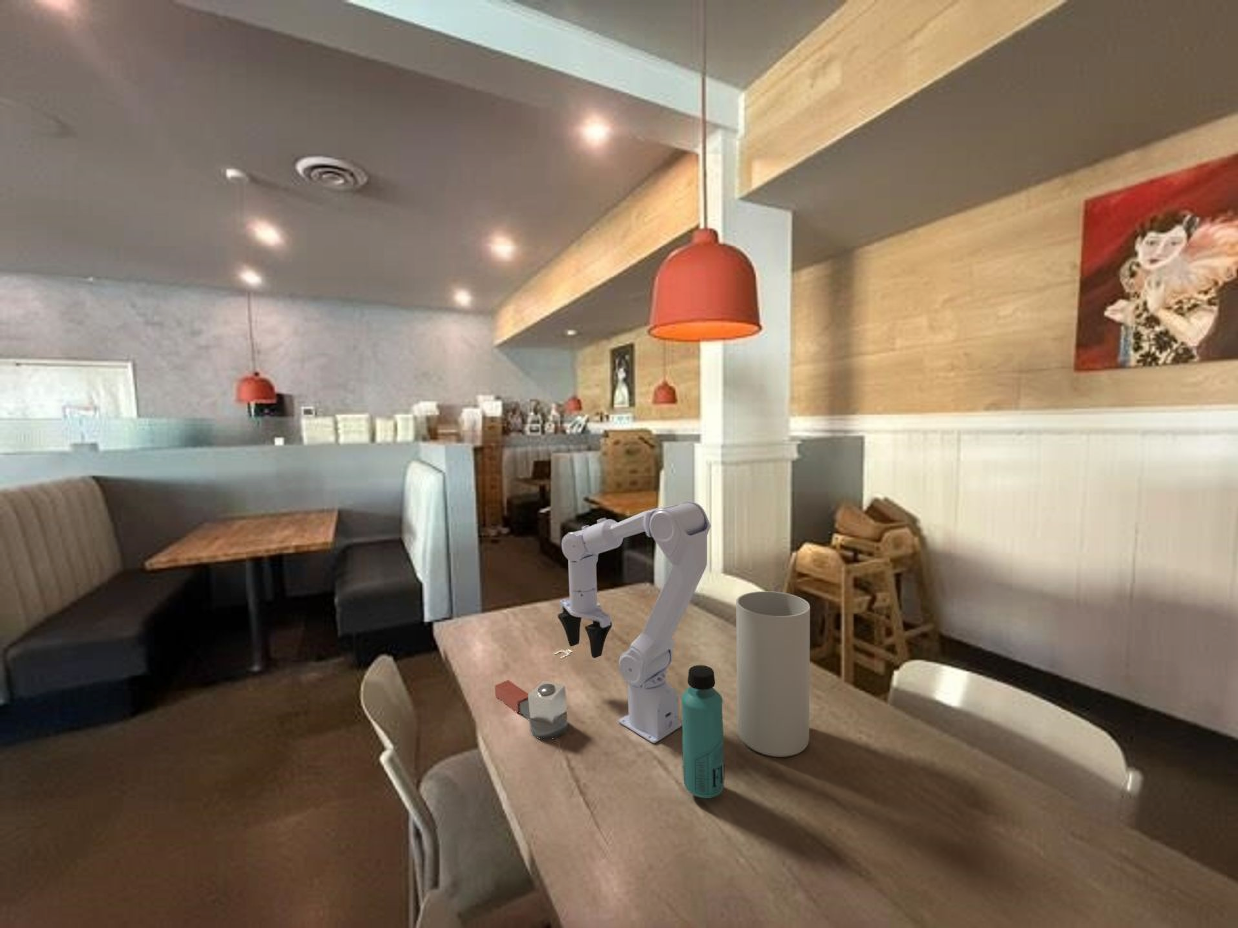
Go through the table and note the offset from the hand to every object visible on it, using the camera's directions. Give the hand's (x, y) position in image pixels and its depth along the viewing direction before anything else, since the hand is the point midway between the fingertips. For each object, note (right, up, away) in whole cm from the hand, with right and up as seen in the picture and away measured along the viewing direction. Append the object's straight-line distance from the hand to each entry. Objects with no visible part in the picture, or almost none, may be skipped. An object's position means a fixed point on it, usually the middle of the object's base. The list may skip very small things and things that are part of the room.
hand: (585, 650), depth 109 cm
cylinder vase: (+35, -11, -15) cm, 39 cm away
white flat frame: (-2, -9, +21) cm, 23 cm away
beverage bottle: (+20, -12, -28) cm, 37 cm away
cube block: (-6, -8, -10) cm, 15 cm away
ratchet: (-11, -11, -5) cm, 16 cm away
